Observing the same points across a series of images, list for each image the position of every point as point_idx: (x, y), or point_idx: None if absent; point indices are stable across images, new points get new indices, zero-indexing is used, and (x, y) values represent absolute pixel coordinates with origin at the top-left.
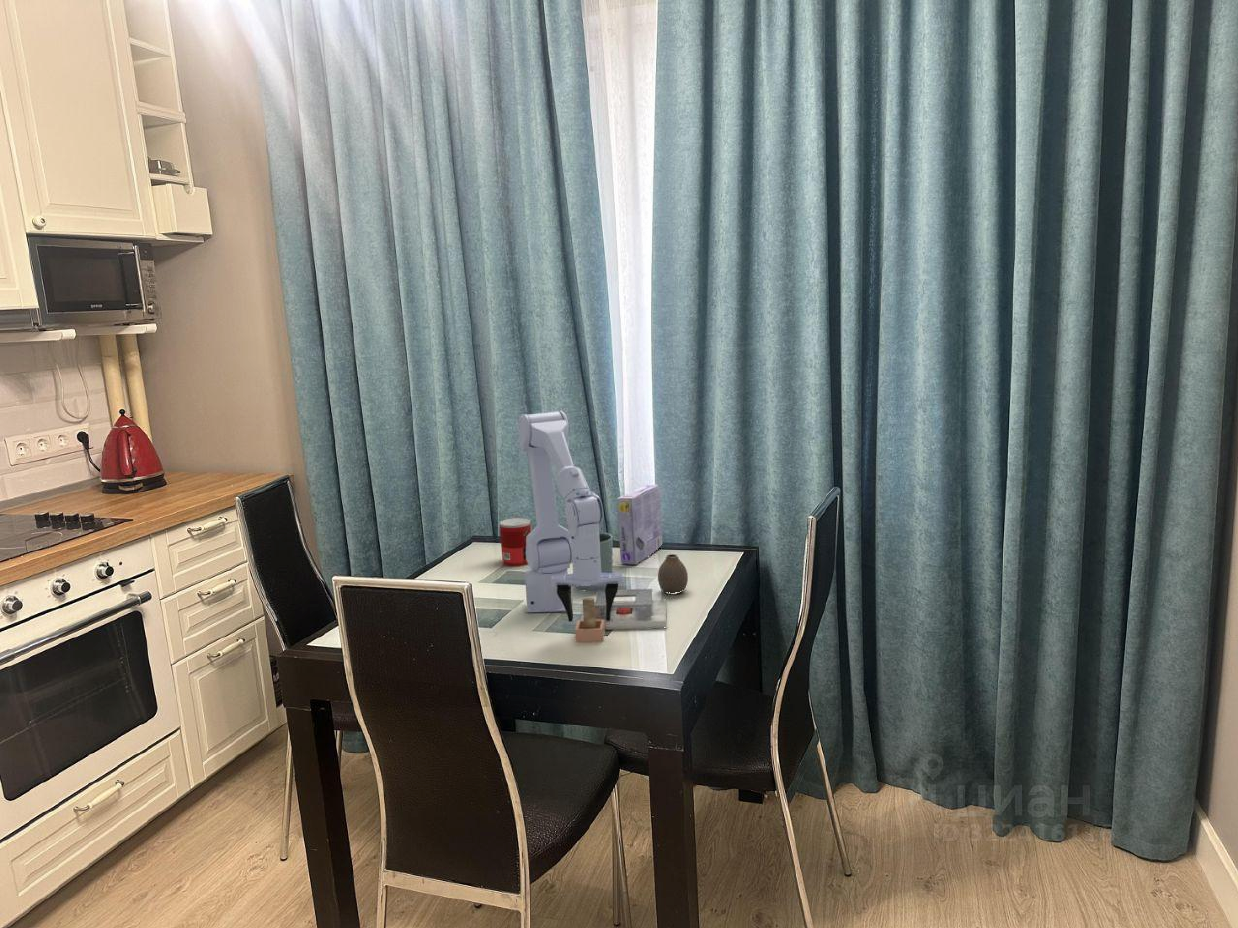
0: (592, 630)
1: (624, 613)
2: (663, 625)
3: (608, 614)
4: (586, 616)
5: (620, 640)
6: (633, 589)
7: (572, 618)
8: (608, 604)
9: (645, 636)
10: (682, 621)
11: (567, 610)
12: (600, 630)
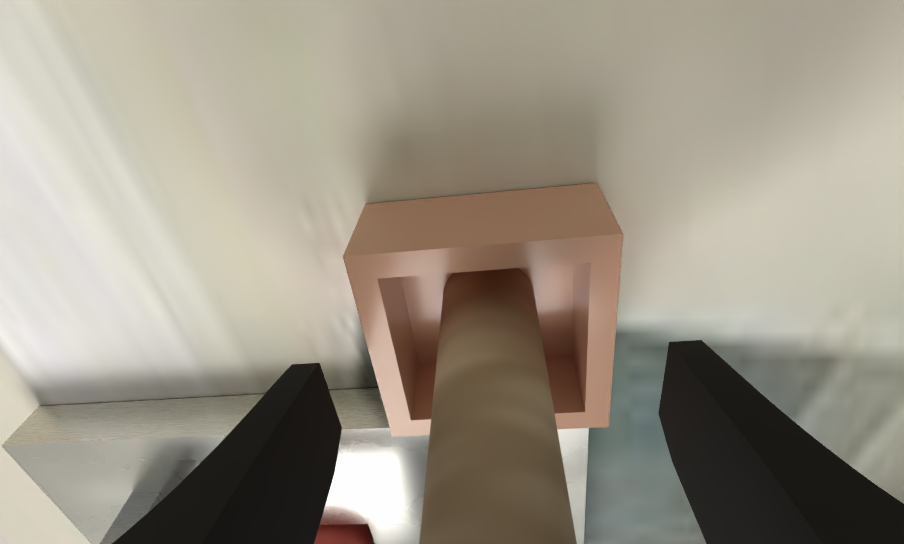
0: (442, 245)
1: (319, 528)
2: (39, 419)
3: (265, 406)
4: (514, 384)
5: (236, 225)
6: None
7: (667, 389)
8: (190, 513)
9: (93, 297)
10: (14, 477)
11: (783, 428)
12: (366, 250)
